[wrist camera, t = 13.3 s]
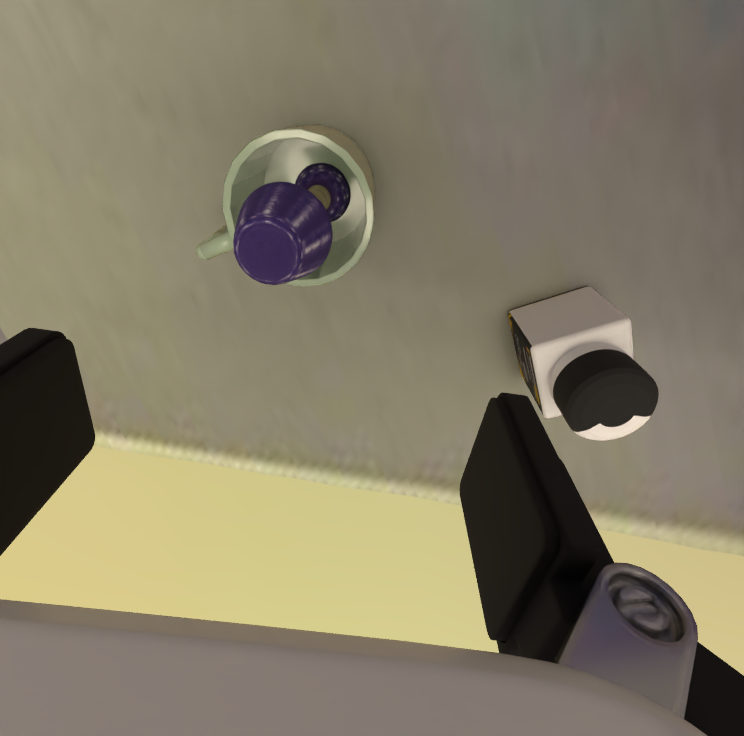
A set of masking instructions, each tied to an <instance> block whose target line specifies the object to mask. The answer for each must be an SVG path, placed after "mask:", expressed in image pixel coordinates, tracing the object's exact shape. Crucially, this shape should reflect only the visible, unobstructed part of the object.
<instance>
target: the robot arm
mask: <svg viewBox="0 0 744 736" xmlns="http://www.w3.org/2000/svg"><path fill="white" fill-rule="evenodd" d="M94 442H95V432H94V428H93V424H92V420H91V416H90V411H89V407H88V403H87V399H86V395H85V391H84V387H83V382H82V378H81V374H80V370H79V366H78V362H77V358H76V353H75V349H74V346H73V343H72V342H71V341H70V340H68V339H66V337H65V336H64V334H63V333H61V332H58V331H51V330H43V329H36V328H28V329H25V330H23V331H22V332H20V333H19V334H17V335H15V336H14V337H12V338H10V339H9V340H7V341H6V342H4V343H2V344H1V345H0V556H1V554H2V553H3V552H4V551H5V550H6V549H7V547H8V546H9V545H10V544H11V542H13V540H14V539H15V538H16V537H17V536H18V535H19V533H20V532H21V531H22V530H23V529H24V528H25V526H26V525H27V524H28V523H29V522H30V521H31V519H32V518H33V517H34V516H35V515H36V514H37V512H38V511H39V510H40V509H41V508H42V507H43V505H44V504H45V503H46V502H47V501H48V500H49V498H50V497H51V496H52V495H53V494H54V493H55V491H56V490H57V489H58V488H59V487H60V485H61V484H62V483H63V482H64V481H65V480H66V479H67V477H68V476H69V475H70V474H71V473H72V471H73V470H74V469H75V468H76V467H77V466H78V465H79V463H80V462H81V461H82V460H83V459H84V458H85V456H86V455H87V454H88V453H89V452H90V450H91V449H92V447H93V445H94ZM460 498H461V503H462V508H463V512H464V518H465V523H466V527H467V532H468V538H469V543H470V548H471V553H472V558H473V563H474V568H475V572H476V578H477V583H478V588H479V593H480V598H481V603H482V608H483V613H484V618H485V623H486V628H487V632H488V635H489V637H490V639H491V640H497V644H498V649H499V653H494V652H487V651H479V650H471V649H463V648H455V647H447V646H438V645H431V644H423V643H415V642H407V641H398V640H389V639H379V638H370V637H361V636H351V635H341V634H333V633H323V632H314V631H304V630H296V629H286V628H277V627H267V626H258V625H249V624H239V623H229V622H219V621H210V620H200V619H190V618H181V617H171V616H161V615H151V614H142V613H132V612H121V611H112V610H102V609H91V608H81V607H72V606H61V605H52V604H41V603H32V602H21V601H11V600H0V736H744V676H743V675H742V674H740V673H739V672H738V671H736V670H735V669H734V668H732V667H731V666H730V665H728V664H727V663H726V662H724V661H723V660H721V659H720V658H719V657H717V656H716V655H715V654H713V653H712V652H711V651H709V650H708V649H707V648H705V647H704V646H703V645H701V644H700V643H699V642H697V640H698V633H697V625H696V622H695V620H694V618H693V615H692V612H691V611H690V609H689V608H688V607H687V605H686V604H685V602H684V601H683V599H682V598H681V597H680V596H679V595H678V594H677V593H676V592H675V591H674V590H673V589H672V588H671V587H670V586H669V585H668V584H667V583H665V582H664V581H663V580H661V579H660V578H659V577H657V576H656V575H654V574H653V573H651V572H649V571H647V570H645V569H643V568H641V567H638V566H635V565H632V564H628V563H614V561H613V559H612V558H611V556H610V554H609V552H608V550H607V548H606V546H605V544H604V542H603V540H602V538H601V536H600V534H599V532H598V530H597V528H596V526H595V524H594V522H593V520H592V518H591V516H590V514H589V512H588V510H587V508H586V506H585V504H584V503H583V501H582V499H581V497H580V495H579V493H578V491H577V489H576V487H575V485H574V483H573V481H572V479H571V477H570V475H569V473H568V471H567V469H566V467H565V465H564V464H563V462H562V461H561V459H559V457H558V455H557V453H556V451H555V449H554V447H553V445H552V443H551V441H550V439H549V437H548V435H547V433H546V431H545V429H544V427H543V425H542V423H541V421H540V419H539V417H538V415H537V413H536V411H535V409H534V407H533V405H532V403H531V401H530V400H529V398H528V397H527V396H524V395H517V394H510V393H500V395H499V396H498V398H491V399H490V401H489V403H488V406H487V409H486V412H485V414H484V417H483V420H482V423H481V426H480V428H479V431H478V434H477V437H476V440H475V442H474V445H473V448H472V451H471V454H470V457H469V459H468V462H467V465H466V468H465V471H464V473H463V476H462V479H461V483H460Z"/></svg>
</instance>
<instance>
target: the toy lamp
mask: <svg viewBox="0 0 744 736" xmlns="http://www.w3.org/2000/svg"><path fill="white" fill-rule="evenodd" d="M350 197H351V195H350V187H349V184H348V181H347V180H346V178H345V176H344V175H343V173H342V172H341V171H340V170H339V169H337V168H336V167H335V166H333V165H331V164H327V163H315V164H311V165H309V166H307V167H306V168H304V169H303V170H302V171H301V173H300V174H299V176H298V177H297V179H296V182H295V184H293V183H290V182H272V183H267V184H265V185H263V186H260V187H259V188H257V189H256V190H255V191H253V192H252V193H251V194H250V195H249V196H248V198H247V199H246V200H245V202H244V203H243V205H242V207H241V210H240V212H239V215H238V219H237V223H236V228H235V233H234V239H233V247H234V254H235V257H236V260H237V261H238V263H239V265H240V267H241V268H242V269H243V271H244V272H245V273H246V274H247V275H249V276H250V277H251V278H253V279H254V280H256V281H258V282H261V283H264V284H271V285H278V284H284V283H287V282H290V281H294V280H297V279H300V278H302V277H305V276H307V275H309V274H311V273H313V272H314V271H315V270H317V269H318V268H319V267H320V266H321V265H322V264H323V263H324V261H325V260H326V258H327V256H328V254H329V252H330V248H331V245H332V234H333V232H332V225H331V222H333V221H335V220H337V219H339V218H340V217H341V216H342V215H343V214H344V213H345V211H346V210H347V208H348V205H349V202H350Z"/></svg>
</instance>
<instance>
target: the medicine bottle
mask: <svg viewBox="0 0 744 736" xmlns="http://www.w3.org/2000/svg"><path fill="white" fill-rule="evenodd" d="M508 317H509V322H510V326H511V331H512V336H513V340H514V345H515V349H516V354H517V358H518V363H519V367H520V372H521V375H522V377H523V379H524V381H525V383H526V384H527V386H528V388H529V390H530V392H531V394H532V395H533V397H534V399H535V401H536V403H537V405H538V406H539V408H540V410H541V412H542V414H543V416H544V417H545V418H547V419H548V418H553V417H557V416H560V415H563V417H564V418H565V420H566V422H567V423H568V425H569V427H570V428H571V429H572V430H573V431H574V432H575V433H576V434H578V435H580V436H582V437H584V438H588V439H593V440H612V439H616V438H620V437H623V436H625V435H628V434H630V433H632V432H634V431H635V430H637V429H638V428H640V427H641V426H642V425H643V424H644V423H645V422H646V421H647V420H648V419H649V418H650V416H651V415H652V413H653V412H654V410H655V407H656V405H657V401H658V387H657V385H656V383H655V381H654V379H653V378H652V377H651V376H650V375H649V374H648V373H647V372H646V371H645V370H644V369H643V368H642V367H641V366H639V365H638V364H637V363H636V362H635V361H634V358H633V342H632V326H631V321H630V319H629V318H628V317H627V316H625V315H624V314H623V313H622V312H621V311H619V310H618V309H617V308H616V307H614V306H613V305H612V304H611V303H610V302H608V301H607V300H606V299H605V298H604V297H602V296H601V295H600V294H599V293H597V292H596V291H595V290H594V289H593V288H591V287H584V288H581V289H578V290H574V291H571V292H568V293H565V294H562V295H559V296H555V297H552V298H549V299H546V300H543V301H539V302H536V303H533V304H530V305H527V306H523V307H520V308H517V309H514V310H511V311H509V313H508Z"/></svg>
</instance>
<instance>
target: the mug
mask: <svg viewBox="0 0 744 736" xmlns="http://www.w3.org/2000/svg"><path fill="white" fill-rule="evenodd" d="M315 163H327V164H331V165H333V166H335V167H336V168H337V169H339V170H340V171H341V172H342V173H343V175H344V176H345V178H346V180H347V181H348V184H349V187H350V195H351V197H350V202H349V205H348V208H347V210H346V211H345V213H344V214H343V215H342V216H341V217H340V218H339V219H337V220H335V221H333V222H331V225H332V232H333V234H332V245H331V248H330V252H329V254H328V256H327V258H326V260H325V261H324V263H323V264H322V265H321V266H320V267H319V268H318V269H317V270H315V271H314V272H313V273H311V274H309V275H307V276H305V277H302V278H300V279H297V280H294V281H290V282H287V283H286V284H290V285H294V286H299V287H300V286H316V285H322V284H325V283H327V282H330V281H332V280H335V279H337V278H340V277H341V276H342V275H344V274H345V273H346V272H347V271H348V270H350V269H351V268H352V267H353V266H354V265H356V263H357V262H358V261H359V259H360V257H361V256H362V254H363V253H364V251H365V249H366V248H367V246H368V244H369V240H370V236H371V232H372V228H373V224H374V206H375V191H374V178H373V174H372V171H371V168H370V165H369V163H368V161H367V158H366V157H365V155H364V154H363V152H362V151H361V149H360V148H359V147H358V145H357V144H356V143H355V142H354V141H353V140H352V139H350V138H349V137H348V136H346V135H345V134H343V133H341V132H340V131H338V130H336V129H333V128H330V127H327V126H322V125H317V124H316V125H304V126H296V127H290V128H284V129H279V130H274V131H271V132H269V133H267V134H265V135H263V136H261V137H258V138H256V139H254V140H252V141H251V142H249V144H248V145H247V146H246V147H245V148H244V149H243V150H242V151H241V152H240V153H239V154H238V155H237V156H236V158H235V159H234V160H233V162H232V165H231V167H230V170H229V172H228V174H227V177H226V179H225V183H224V192H223V212H224V216H225V220H226V225H225V226H223V227H222V228H220V229H219V230H218V231H216V232H215V233H214V234H212V235H211V236H210V237H208V238H207V239H206V240H204V241H203V242H201V243H200V244H199V245H198V246H197V248H196V254H197V256H198V257H199V258H200V259H202V260H209V259H212V258H214V257H216V256H219V255H221V254H223V253H226V252H228V251H230V250H233V249H234V247H233V239H234V233H235V228H236V223H237V219H238V215H239V212H240V210H241V207H242V205H243V203H244V202H245V200H246V199H247V198H248V196H249V195H250V194H251V193H252V192H253V191H255V190H256V189H257V188H259V187H260V186H263V185H265V184H267V183H272V182H290V183H293V184H295V182H296V179H297V177H298V176H299V174H300V173H301V171H302V170H303V169H304V168H306V167H307V166H309V165H311V164H315Z"/></svg>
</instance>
